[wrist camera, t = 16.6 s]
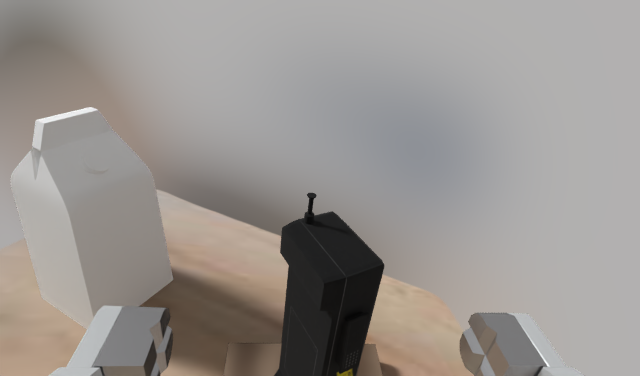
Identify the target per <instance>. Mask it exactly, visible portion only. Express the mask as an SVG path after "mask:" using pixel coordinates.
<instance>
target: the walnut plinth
mask: <svg viewBox="0 0 640 376" xmlns="http://www.w3.org/2000/svg"><path fill="white" fill-rule="evenodd" d="M281 344H282V343H228V350H227V356H226V362H225V368H224V375H223V376H274V375H275V373H276V372H277V370H278V369H279V363H280V355H281ZM357 376H383V375H382V371H381V367H380V362H379V358H378V354H377V350H376V345H375V344H364V348H363V352H362V356H361V360H360V364H359V368H358V372H357Z"/></svg>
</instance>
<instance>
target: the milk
mask: <svg viewBox="0 0 640 376" xmlns="http://www.w3.org/2000/svg"><path fill="white" fill-rule="evenodd" d="M32 147H33V149H31V150H30V152H29V153H28V154H27V155H26V156H25V158H24V159H23V160H22V161H21V162H20V164H19V165H18V166H17V167H16V168H15V170H14V171H13V173H12V175H11V179H10V180H11V181H10V183H11V188H12V192H13V195H14V199H15V203H16V206H17V210H18V214H19V217H20V221H21V224H22V228H23V232H24V235H25V239H26V242H27V246H28V250H29V253H30V257H31V261H32V264H33V268H34V271H35V275H36V279H37V282H38V286H39V289H40V293H41V297H42V299H44V300H45V301H47V302H48V303H50V304H51V305H52V306H54V307H55V308H57V309H58V310H60V311H61V312H62V313H64V314H65V315H67V316H68V317H70V318H71V319H72V320H74V321H75V322H77V323H78V324H80V325H81V326H82V327H84V328H85V329H88V327H89V326H90V324H91V322H92V320H93V319H94V317H95V315H96V313H97V311H98V310H99V309H100V308H102V307H103V306H135V307H139V306H140V305H141V304H143V303H144V302H145V301H147V300H148V299H149V298H151V297H152V296H153V295H154V294H156V293H157V292H158V291H160V290H161V289H162V288H163V287H165V286H166V285H167V284H169V283H170V282H171V281H173V275H172V270H171V265H170V260H169V255H168V249H167V244H166V239H165V234H164V229H163V224H162V219H161V214H160V208H159V203H158V198H157V193H156V188H155V183H154V179H153V175H152V174H151V171H150V170H149V168H148V167H147V165H146V164H145V163H144V162H143V161H142V160H141V159H140V158H139V157H138V155H137V154H136V153H135V152H134V151H133V150H132V149H131V148H130V147H129V146H128V145H127V144H126V143H125V142H124V141H123V140H122V139H121V137H120V136H118V135H117V133H115V131H113V130H112V127H111V126H110V125H109V123H108V122H107V121H106V120H105V118H104V117H103V116H102V114H101V113H100V112H99V110H97V109H94V108H91V107H89V108H85V109H80V110H76V111H72V112H68V113H64V114H59V115H56V116H51V117H47V118H43V119H38V120H36V123H35V130H34V137H33V145H32Z"/></svg>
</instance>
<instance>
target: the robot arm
mask: <svg viewBox="0 0 640 376" xmlns="http://www.w3.org/2000/svg"><path fill="white" fill-rule="evenodd" d="M169 320H170V313H169V308H158V307H135V306H103V307H102V308H100V309H99V310H98V311H97V313H96V315H95V317H94V319H93V320H92V322H91V324H90V326H89V327H88V329H87V331H86V333H85V335H84V336H83V338H82V340H81V342H80V344H79V345H78V347H77V349H76V351H75V353H74V354H73V356H72V358H71V360H70V362H69V363H68V365H67V367H60V368H58V369H57V370H55V371H54V372H53V373H51V374H50V375H49V376H160V374H161V373H162V372H163V371H164V370H165V369H167V367H168V363H169V360H170V356H171V350H172V342H173V334H172V329H171V328H170V327H169V326H168V323H169ZM468 322H469V324H470V326H471V327H470V328H469V329H467V330H466V331H464V332H463V334H462V336H461V339H460V354H461V358H462V361H463V363H464V365H465V367H466V368H467V369H468V370H469V371H470V372H471V373H472V374H473V375H474V376H584V375H583V374H582V373H580V372H579V371H577V370H576V369H574V368H573V367H567V366H566V364H565V363H564V362H563V360H562V359H561V357H560V356H559V355H558V353H557V352H556V350H555V349H554V348H553V346H552V345H551V343H550V342H549V341H548V339H547V338H546V336H545V335H544V333H543V332H542V331H541V329H540V328H539V326H538V325H537V323H536V322H535V321H534V319H533V318H532V317H531V316H530V315H528V314H523V313H522V314H521V313H520V314H519V313H475V314H473V315H471V317H470V319H469V321H468Z"/></svg>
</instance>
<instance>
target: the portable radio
mask: <svg viewBox="0 0 640 376" xmlns="http://www.w3.org/2000/svg"><path fill="white" fill-rule="evenodd" d="M307 196H308V197H309V205H308V212H306V213H305V216H304V218H302V219H298V220H296V221H293V222H291V223H289V224H288V225H286V226H284V227H283V228H282V236H281V250H280V253H281V254H282V256H283V257H284V259H285V260H286V262H287V263H288V265H289V269H288V280H287V290H286V301H285V312H284V323H283V333H282V344H281V355H280V363H279V369H278V370H277V372H276V373H275V375H274V376H357V372H358V368H359V364H360V360H361V356H362V352H363V348H364V344H365V340H366V336H367V332H368V328H369V324H370V321H371V317H372V313H373V309H374V305H375V301H376V297H377V293H378V289H379V285H380V282H381V278H382V274H383V269H384V263H383V262H382V260H381V259H380V258H379V257H378V256H377V255H376V254H375V253H374V252H373V251H372V250H371V249H370V248H369V247H368V246H367V245H366V244H365V243H364V242H363V240H362V239H361V238H360V237H358V235H357V234H356V233H355V232H354V231H353V230H352V229H351V228H350V227H349V226H348V225H347V224H346V223H345V222H344V221H343V220H341V218H340V217H339V216H338V215H337V214H335V213H334V212H328V213H323V214H319V215H315V216H314V213H313V212H312V208H313V200H314V198H315V197H316V194H314V193H308V194H307Z"/></svg>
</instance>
